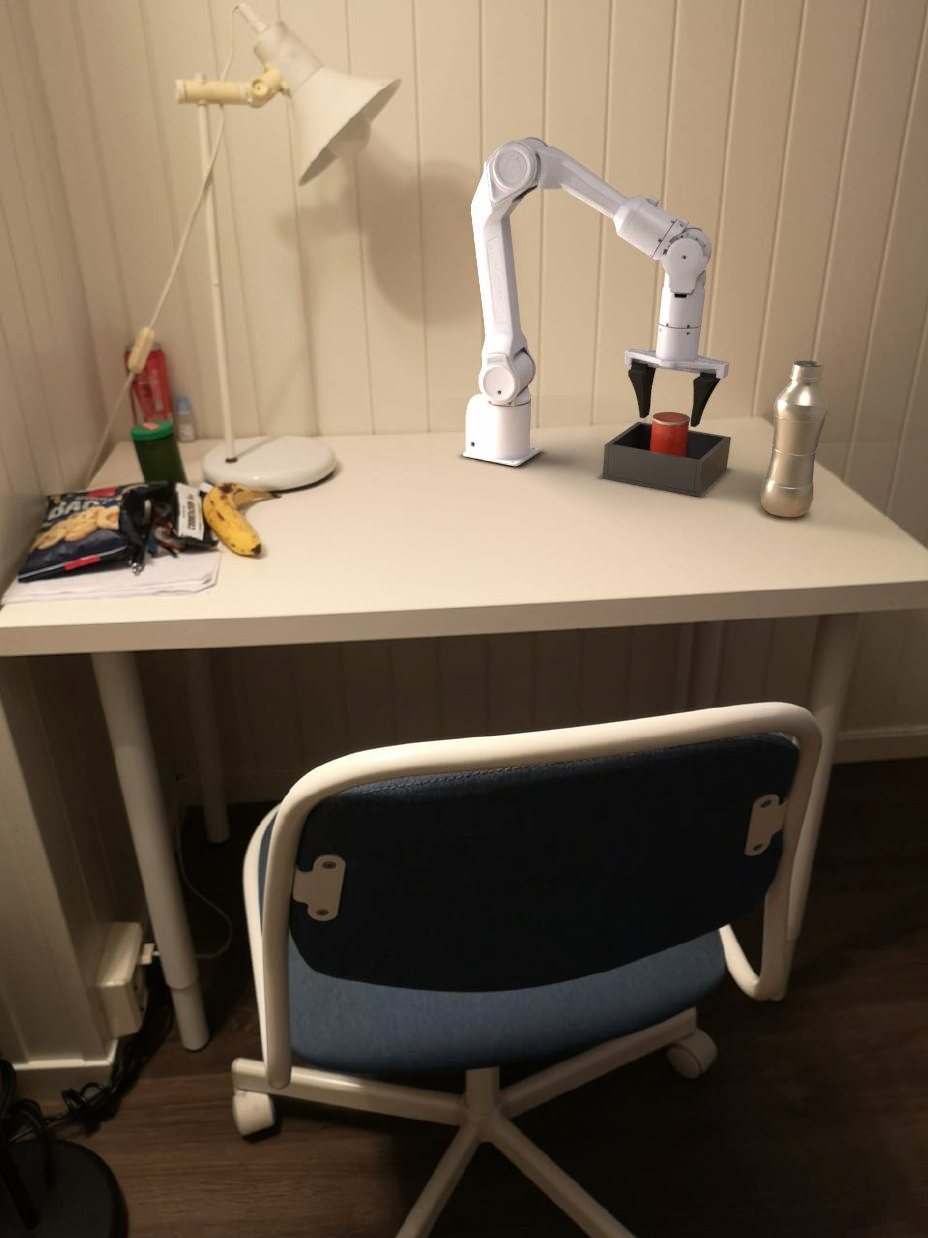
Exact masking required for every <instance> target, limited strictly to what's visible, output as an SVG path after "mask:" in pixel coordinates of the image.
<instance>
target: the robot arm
mask: <svg viewBox="0 0 928 1238" xmlns="http://www.w3.org/2000/svg"><path fill="white" fill-rule="evenodd" d="M536 189H537V190H539V191H542V190H543V191H547V190H563V191H565V192H567V193H568V194H569V195H571V196H573V197H574V198H576V199H578V200H580V201H581V202H583V203H585V204H586V205H588V206H589V207H591V208H593V209H595V210H596V211H598V212H600V213H601V214H602V215H604V216H606V217H608V218H610V220H612V221H613V223H614V226H615V231H616V235H617V236H618V237H619V238H621V239H623V240H624V241H626V242H627V243H629V244H630V245H632V246H633V247H635V248H636V249H638V250H639V251H641V252H642V253H644V254H645V255H646V256H648V257H650V258H651V259H652V260H654V261H661V265H662V269H663V270H664V272H665V273H664V281H663V282H664V283H663V288H662V290H661V298H660V299H661V300H660V308H659V320H658V329H657V338H656V346H655V347H656V349H643V348H642V349H641V348H629V349H627V350H625V351H624V360H623V361H624V363H623V364H624V365H626V366H630V369H629V370H627V376H628V378H629V380H630V383H631V384H632V387H633V390H634V393H635V397H636V401H637V408H638V415H639V418H640V419H645V418H647V417H648V416H650V411H651V407H652V406H651V404H652V403H651V402H652V390H653V385H654V380H655V375H656V371H657V369H661V370H667V371H668V370H669V371H675V372H682V373H689V374H696V375H699V376H697V377H695V378H694V379H693V380H692V387H693V390H692V391H693V395H692V408H691V409H692V410H691V416H690V422H689V427H690V428H696V427H697V426H699V425H700V424H701V420H702V418H703V417H702V416H703V415H704V411H705V408H706V406H707V404H708V402H709V400H710V398H711V397H712V394H713V393H714V391H715V389H716V388H717V386H718V385H719V383H720V382H721V380H723V379H725V378H727V377H728V376H729V370H730V369H729V368H730V361H726V360H719V359H716V358H712V357H708V356H704V355H700V354H699V347H700V340H701V339H700V338H701V330H702V322H703V314H704V305H705V297H706V289H705V286H706V283H707V269H706V268H707V265H708V263H709V262H710V259H711V257H712V254H713V253H712V252H713V247H712V242H711V240H710V237H709V236H708V235H707V233H705V231H703V229H702V228H700V227H698V226H688V225H689V224H690V221H689V220H687V218H685V217H683V218H681V220H680V219H679V218H677V217H676V216H675V215H673V214H671V213H669V212H668V211H667V210H665V209H664V208H663V207H661V206H660V205H659V203H660V200H659V199H658V198H657V197H656V196H654V195H650V196H649V197H646V196H644V195H643V194H639V195H635V196H631V197H627V196H626V195H624V194H623V193H622V192H621V191H619V190H617V189H616V188H615V187H613V186H612V185H611V184H609V182H607V181H605V180H604V179H603V178H602V177H600V176H599V175H597V174H596V173H594V172H593V171H592V170H591V169H589V168H588V167H586V166H585V165H584V164H582V163H581V162H579V161H578V160H576V159H575V158H574V157H572V156H571V155H569V154H568V153H567V152H565V151H564V150H562V149H560V148H558V147H556V146H553V145H550V146H549V144H548V143H547V142H546V141H544V140H543V139H541V138H539V137H535V136H527V137H524V138H522V139H518V140H517V139H511V140H507V141H505V142H503V143H501V144H500V145H499V146H498V147H497V148H496V149H495V150H494V151H493V153H492V154H491V155H490V156H488V158H487V159H486V160H485V161H484V169H483V173H482V176H481V178H480V181H479V184H478V187H477V189H476V192H475V194H474V197H473V199H472V202H471V209H470V210H471V219H472V228H473V235H474V245H475V253H476V254H475V255H476V260H477V261H476V262H477V271H478V279H479V286H480V296H481V304H482V313H483V320H484V330H485V340H484V344H483V348H482V351H481V359H482V360H481V361H482V362H481V363H482V367H481V371H480V373H479V376H478V386H479V390H480V392H481V394H480V393H479V394H475V395H474V396H472V398H471V399H470V400H469V402H468V405H467V409H466V413H465V451H464V452H463V457H467V458H471V459H476V460H481V461H487V462H492V463H496V464H501V465H506V466H511V467H518V466H520V465H522V464H524V463H525V462H526V461H528V460H530V459H532V458H533V457H535V456H536V455H537V454H539V453H540V452H541V449H540V448H537V447H531V445H530V444H531V417H532V409H531V408H532V394H531V392H530V390H529V385H530V384H531V383H532V382H533V380H534V379H535V377H536V373H537V366H536V365H537V364H536V362H535V359H534V358H533V356H532V354H531V353H530V350H529V347H528V339H527V338H526V335H525V334H524V332H523V330H522V324H521V316H520V306H519V304H520V303H519V297H518V287H517V286H518V284H517V276H516V266H515V257H514V249H513V248H514V247H513V236H512V235H513V234H512V226H511V215H512V213H513V212H514V211H515V210H516V208H517V207H518V206H519V205H520V203H521V202H522V201H523V200H524V199H525V197H526V196H527V195H528V194H530V193H532V192H533V191H534V190H536Z"/></svg>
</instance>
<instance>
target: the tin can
mask: <svg viewBox="0 0 928 1238" xmlns="http://www.w3.org/2000/svg"><path fill="white" fill-rule="evenodd" d="M690 422H691V416H689V415H687V414H684V413H682V412H676V411H663V412H662V411H660V412H656V413H654V414H653V415H652V422H651V424H652V432H651V442H650V451H653V452H658V453H664V454H669V455H675V456H680V457H685V456H686V448H687V439H688V430H690Z"/></svg>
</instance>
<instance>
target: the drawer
mask: <svg viewBox="0 0 928 1238" xmlns="http://www.w3.org/2000/svg"><path fill="white" fill-rule="evenodd" d="M651 432H652V423H649V422H642V421H637V422H635V423H634V424H632V425H631V426H629V427H628V428H627V429H625V430H623V431H622V432H620V433H619V434H618V435H616V436H614V437H613V438H612V439H611V440H609V441H607V442H606V443H605V444H604V447H603V452H604V453H603V464H602V477H601V478H602V479H605V480H610V481H616V482H620V483H626V484H630V485H631V484H632V485H635V486H636V485H637V486H640V487H646V488H651V489H656V490H662V491H666V492H671V493H676V494H681V495H685V496H692V497H697V498H700V496H701V495H703V494H704V493H705V492H706V491H707V490H708V489H709V488H710V487H711V486H712V485H713V484H714V483H715V482H716V481H717V480H718V479H719V478H720V477H722V475H723V474H724V473H725V472H726V471H727V470H728V464H729V456H730V447H731V442H732V436H725V435H722V434H715V433H710V432H704V431H697V430H690V429H689V430H688V439H687V448H686V456H685V457H680V456H675V455H669V454H664V453H658V452H653V451H650V442H651Z"/></svg>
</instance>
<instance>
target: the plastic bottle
mask: <svg viewBox="0 0 928 1238" xmlns="http://www.w3.org/2000/svg"><path fill="white" fill-rule="evenodd" d="M824 369H825V364H824V363H823V362H820V361H814V360H806V359H805V360H796V361H793V363H792V368H791V372H790V373H789V379H791V381H790V382H789V383H788V384H787V385H786V386H785V387H784V388H783V389H782V390H781V391H780V392H779V394H778V395H777V396H776V398H775V401H774V404H773V438H772V449H771V455H770V459H769V464H768V468H767V473H766V476H765V477H764V480H763V483H762V487H761V490H760V503H761V505H762V508H763V509H764V510H765V511H766V513H769V514H772V515H775V516H779V517H785V518H795V517H800V516H803V515H805V514H806V513H807V512H808V511H809V510H810V508H811V506H812V503H813V501H814V491H815V490H814V488H815V487H814V474H815V473H814V471H815V461H816V460H815V459H816V453H817V449H818V445H819V440H820V436H821V433H822V431H823V427H824V425H825V422H826V419H827V415H828V411H829V403H828V399H827V396H826V394H825V391H824V390H823V388H822V387H821V385H820V382H821V381H822V382H823V380H824V379H823V378H824Z"/></svg>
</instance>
